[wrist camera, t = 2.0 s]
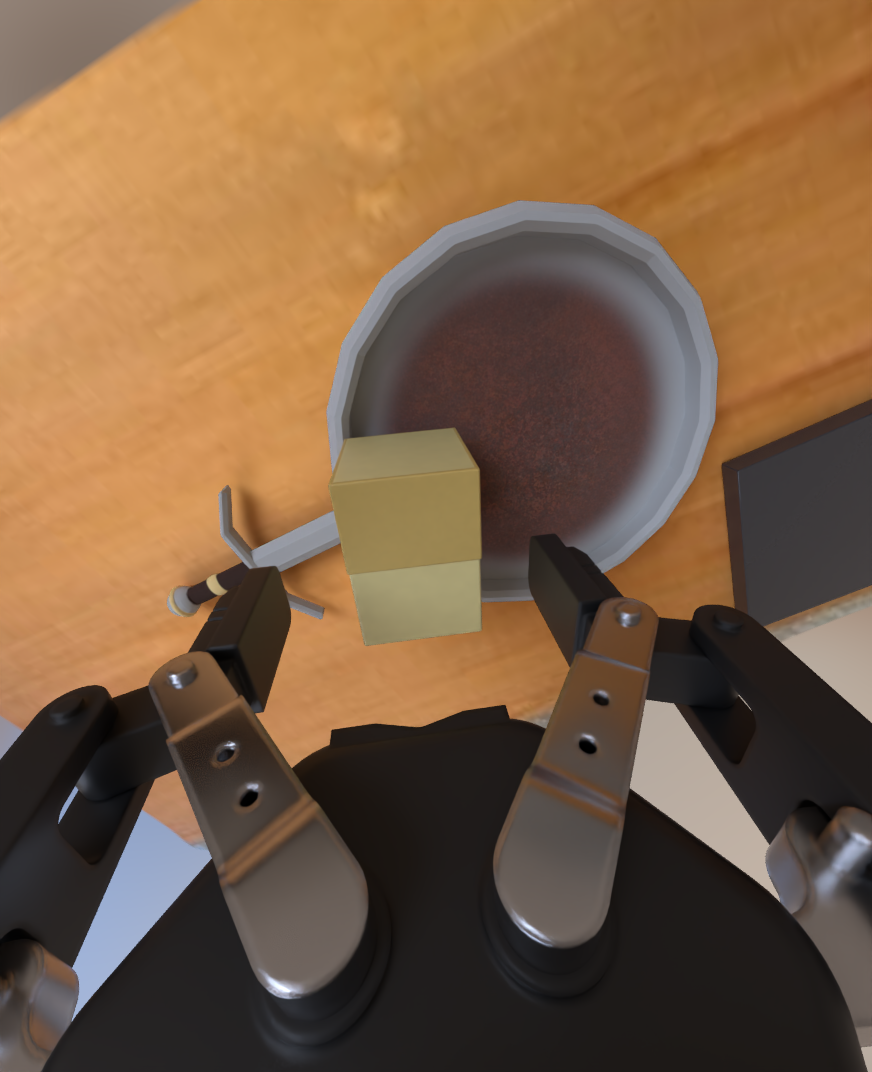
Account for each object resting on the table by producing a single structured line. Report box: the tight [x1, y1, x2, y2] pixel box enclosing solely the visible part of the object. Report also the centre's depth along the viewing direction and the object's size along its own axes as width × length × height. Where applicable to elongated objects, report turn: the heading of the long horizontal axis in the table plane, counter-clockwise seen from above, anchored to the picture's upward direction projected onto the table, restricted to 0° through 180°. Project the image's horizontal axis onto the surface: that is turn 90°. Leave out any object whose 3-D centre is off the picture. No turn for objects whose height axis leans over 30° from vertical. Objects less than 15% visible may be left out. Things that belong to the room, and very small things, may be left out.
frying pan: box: [167, 200, 718, 619], centre depth 19 cm, size 17×3×28 cm
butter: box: [328, 428, 482, 646], centre depth 16 cm, size 4×6×5 cm
